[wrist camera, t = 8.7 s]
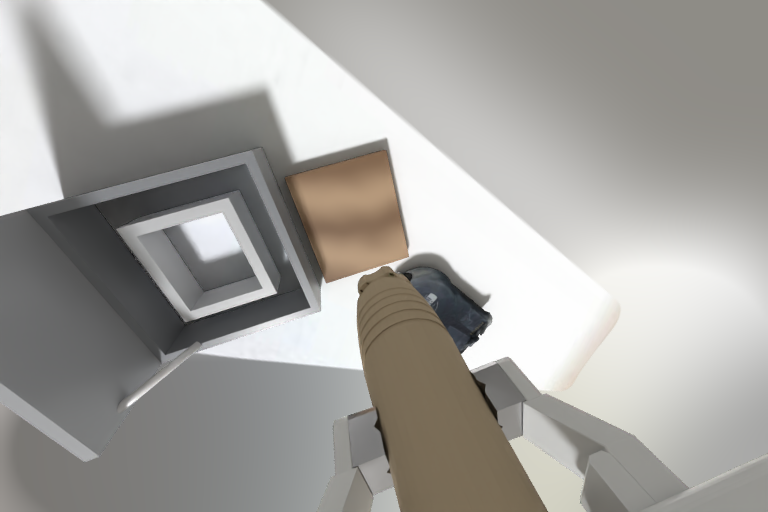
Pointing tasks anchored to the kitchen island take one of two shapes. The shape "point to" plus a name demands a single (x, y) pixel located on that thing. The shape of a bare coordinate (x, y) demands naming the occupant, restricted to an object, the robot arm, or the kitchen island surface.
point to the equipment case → (127, 301)
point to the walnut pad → (350, 215)
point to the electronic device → (451, 306)
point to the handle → (433, 409)
